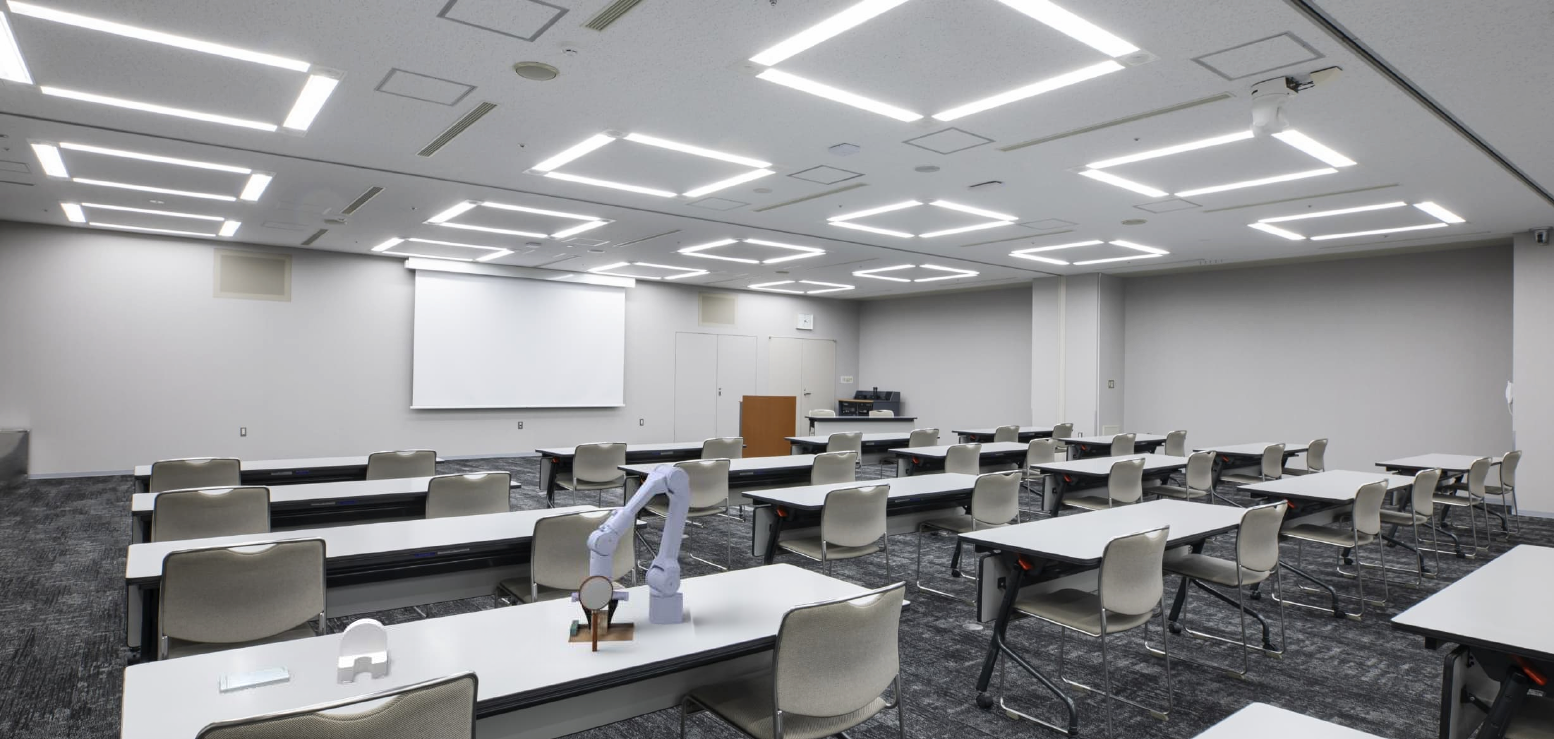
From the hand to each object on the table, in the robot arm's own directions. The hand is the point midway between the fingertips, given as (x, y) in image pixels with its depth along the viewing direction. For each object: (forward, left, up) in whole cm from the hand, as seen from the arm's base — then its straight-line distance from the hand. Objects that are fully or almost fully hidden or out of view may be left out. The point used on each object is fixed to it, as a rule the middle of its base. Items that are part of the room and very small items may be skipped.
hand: (599, 628), depth 201 cm
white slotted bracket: (+53, +14, -3) cm, 55 cm away
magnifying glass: (0, +13, -3) cm, 14 cm away
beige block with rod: (0, 0, -1) cm, 1 cm away
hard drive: (+73, +21, -3) cm, 76 cm away
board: (-1, +1, -2) cm, 3 cm away
